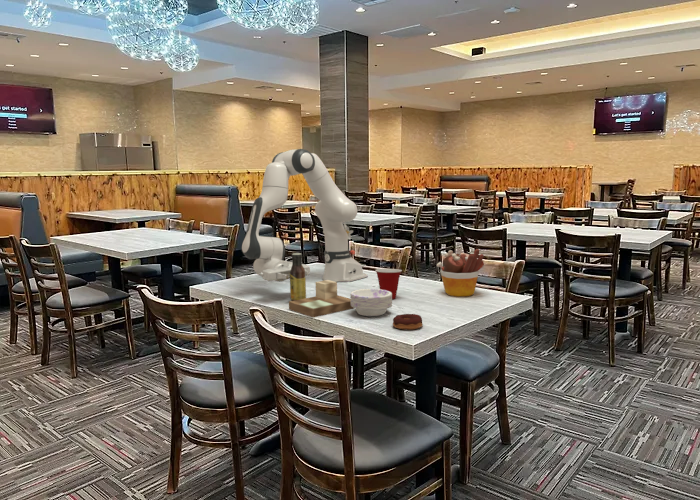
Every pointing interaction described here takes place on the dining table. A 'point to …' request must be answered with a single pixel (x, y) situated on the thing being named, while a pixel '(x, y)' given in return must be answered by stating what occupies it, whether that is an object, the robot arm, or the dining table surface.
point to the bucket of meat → (460, 273)
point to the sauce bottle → (297, 278)
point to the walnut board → (320, 306)
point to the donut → (407, 321)
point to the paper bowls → (371, 301)
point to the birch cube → (326, 289)
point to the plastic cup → (389, 280)
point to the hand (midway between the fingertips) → (296, 275)
